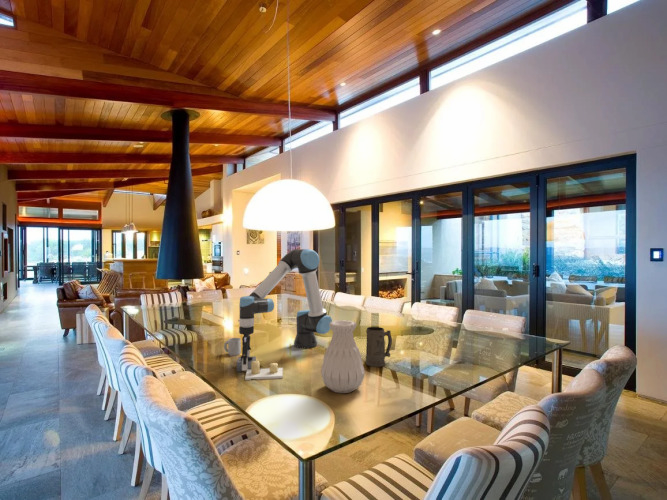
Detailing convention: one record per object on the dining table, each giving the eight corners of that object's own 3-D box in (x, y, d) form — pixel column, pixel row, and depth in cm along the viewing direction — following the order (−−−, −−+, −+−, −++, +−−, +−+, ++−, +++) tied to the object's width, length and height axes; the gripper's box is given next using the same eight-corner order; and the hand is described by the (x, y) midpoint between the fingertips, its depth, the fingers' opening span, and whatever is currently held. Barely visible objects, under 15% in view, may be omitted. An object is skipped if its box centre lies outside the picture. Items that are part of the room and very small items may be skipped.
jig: (282, 370, 188) (282, 357, 188) (282, 378, 176) (282, 364, 176) (247, 371, 185) (247, 358, 185) (245, 380, 173) (245, 366, 173)
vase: (351, 401, 149) (351, 329, 149) (312, 391, 160) (312, 324, 160) (372, 386, 166) (372, 321, 166) (335, 377, 177) (335, 316, 176)
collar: (255, 365, 195) (255, 356, 195) (254, 371, 186) (254, 361, 186) (238, 366, 194) (238, 356, 194) (236, 371, 185) (236, 362, 185)
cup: (238, 355, 212) (238, 340, 212) (222, 355, 212) (222, 340, 212) (242, 352, 220) (242, 337, 220) (225, 352, 220) (225, 337, 220)
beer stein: (371, 368, 191) (373, 330, 191) (360, 362, 200) (362, 326, 201) (394, 365, 198) (396, 329, 198) (383, 360, 207) (385, 325, 208)
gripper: (241, 321, 201) (241, 359, 201) (236, 331, 177) (235, 374, 177) (255, 321, 203) (254, 359, 202) (252, 330, 178) (251, 373, 178)
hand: (245, 366), depth 190 cm, fingers open, 13 cm apart
